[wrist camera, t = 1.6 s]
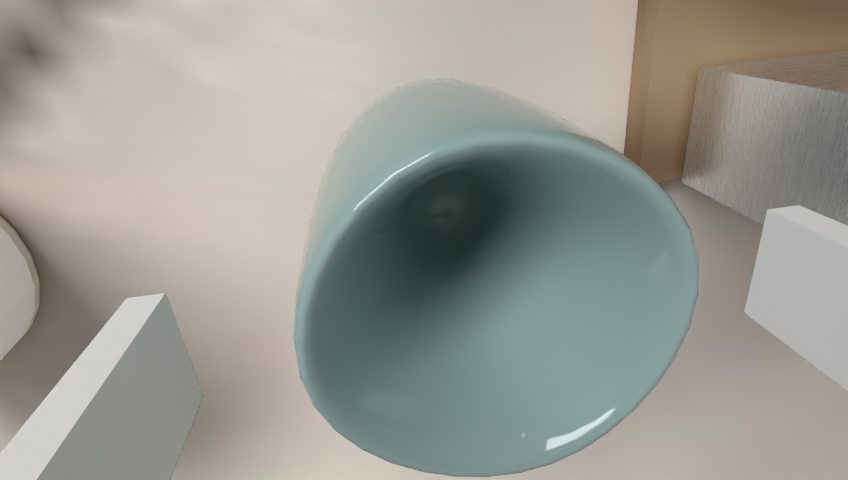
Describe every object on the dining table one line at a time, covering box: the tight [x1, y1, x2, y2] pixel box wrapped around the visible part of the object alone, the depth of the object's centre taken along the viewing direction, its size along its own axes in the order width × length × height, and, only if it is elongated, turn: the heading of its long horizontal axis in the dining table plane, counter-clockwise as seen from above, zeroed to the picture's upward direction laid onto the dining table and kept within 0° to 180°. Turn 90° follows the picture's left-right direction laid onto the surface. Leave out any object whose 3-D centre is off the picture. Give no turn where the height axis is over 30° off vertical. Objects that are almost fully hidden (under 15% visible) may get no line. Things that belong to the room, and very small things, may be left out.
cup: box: [293, 79, 698, 477], centre depth 14 cm, size 8×8×10 cm
